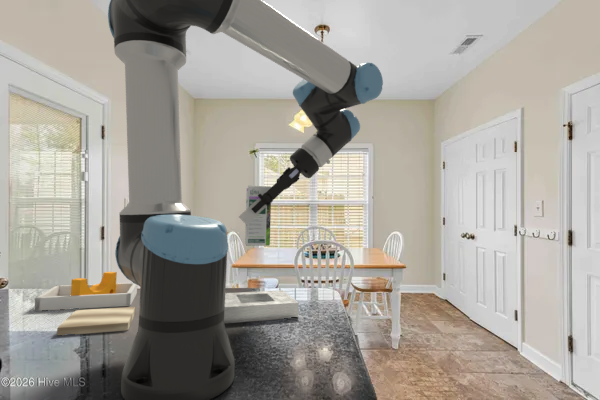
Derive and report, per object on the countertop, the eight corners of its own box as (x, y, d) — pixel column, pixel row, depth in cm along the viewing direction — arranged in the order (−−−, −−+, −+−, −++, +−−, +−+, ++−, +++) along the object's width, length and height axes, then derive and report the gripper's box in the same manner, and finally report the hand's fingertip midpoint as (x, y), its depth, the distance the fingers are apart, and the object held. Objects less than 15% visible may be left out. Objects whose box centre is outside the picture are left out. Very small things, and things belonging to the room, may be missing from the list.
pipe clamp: (102, 294, 94) (103, 271, 95) (115, 295, 93) (116, 272, 94) (64, 305, 83) (65, 279, 83) (79, 307, 82) (80, 280, 82)
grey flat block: (298, 317, 79) (298, 302, 79) (219, 323, 73) (220, 307, 73) (282, 303, 91) (282, 290, 91) (214, 307, 85) (214, 293, 85)
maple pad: (127, 330, 68) (128, 322, 68) (56, 335, 64) (57, 327, 64) (135, 313, 79) (135, 306, 79) (75, 317, 75) (76, 310, 75)
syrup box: (245, 246, 79) (247, 184, 80) (244, 243, 85) (246, 186, 86) (269, 246, 81) (271, 185, 81) (267, 243, 86) (269, 187, 87)
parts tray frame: (130, 305, 85) (130, 293, 85) (34, 311, 78) (35, 298, 78) (136, 293, 98) (137, 282, 98) (55, 296, 91) (56, 285, 91)
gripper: (329, 163, 77) (254, 234, 73) (312, 173, 95) (252, 229, 92) (307, 139, 76) (230, 209, 73) (294, 153, 95) (233, 209, 91)
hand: (242, 220), depth 82 cm, fingers closed on syrup box, 6 cm apart
